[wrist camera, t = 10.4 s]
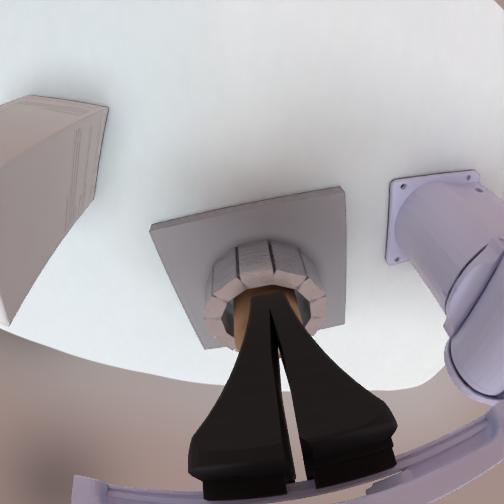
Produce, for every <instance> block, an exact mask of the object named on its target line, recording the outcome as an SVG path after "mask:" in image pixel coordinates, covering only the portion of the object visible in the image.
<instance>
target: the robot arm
mask: <svg viewBox="0 0 504 504" xmlns="http://www.w3.org/2000/svg"><path fill="white" fill-rule="evenodd" d="M467 176H468V177H467ZM402 184H404V186H403V187H401V185H402ZM395 258H396V259H395ZM409 260H410V262H411V263H412V265H413V266H414V267H415V269H416V270H417V272H418V273H419V275H420V276H421V277H422V279H423V280H424V282H425V283H426V285H427V286H428V288H429V289H430V291H431V292H432V294H433V295H434V297H435V298H436V300H437V301H438V303H439V305H440V306H441V308H442V309H443V311H444V313H445V314H446V316H447V317H446V321H445V323H444V325H443V327H444V329H445V331H446V332H447V334H448V336H449V340H448V341H447V343H446V346H445V350H444V360H445V365H446V368H447V371H448V373H449V375H450V377H451V379H452V381H453V382H454V384H455V385H456V386H457V387H458V389H459V390H460V391H461V392H463V393H464V394H465V395H466V396H468V397H469V398H471V399H473V400H475V401H478V402H482V403H486V404H488V405H491V406H492V407H491V408H490V409H489V410H488V411H487V412H486V414H484V415H483V416H481V417H479V418H478V419H476V420H474V421H472V422H470V423H468V424H466V425H465V426H463V427H461V428H459V429H457V430H455V431H453V432H451V433H449V434H447V435H445V436H443V437H440V438H438V439H436V440H434V441H432V442H429V443H427V444H425V445H423V446H420V447H418V448H415V449H413V450H411V451H408V452H405V453H402V454H400V455H397V456H394V452H393V449H392V447H393V442H392V439H391V437H392V435H393V434H394V432H395V431H396V429H397V426H398V425H397V422H396V420H395V418H394V416H393V414H392V412H391V411H390V409H389V408H388V406H387V405H386V404H385V402H384V401H382V400H381V399H379V398H378V397H376V396H375V395H373V394H372V393H371V392H369V391H368V390H366V389H365V388H364V387H362V386H361V385H360V384H359V383H357V382H356V381H355V380H354V379H352V378H351V377H350V376H349V375H348V374H347V373H346V372H344V371H343V370H342V369H341V368H340V367H339V366H338V365H337V364H336V363H335V362H334V361H333V360H332V359H331V358H330V357H329V356H328V355H327V354H326V353H325V352H324V351H323V350H322V349H321V347H320V346H319V345H318V344H317V343H316V342H315V340H314V339H313V338H312V337H311V335H310V334H309V333H308V331H307V330H306V329H305V327H304V326H303V324H302V323H301V321H300V320H299V319H298V317H297V315H296V314H295V312H294V311H293V309H292V307H291V305H290V303H289V301H288V299H287V297H286V294H285V292H283V291H279V292H274V293H269V294H264V295H259V296H254V297H252V298H251V299H250V312H249V318H248V323H247V327H246V331H245V335H244V339H243V342H242V345H241V348H240V351H239V354H238V357H237V360H236V363H235V365H234V368H233V370H232V372H231V375H230V377H229V379H228V381H227V383H226V385H225V387H224V389H223V391H222V393H221V395H220V397H219V398H218V400H217V402H216V404H215V405H214V407H213V408H212V410H211V411H210V413H209V415H208V416H207V418H206V419H205V421H204V422H203V423H202V425H201V426H200V427H199V429H198V430H197V431H196V433H195V434H194V435H193V437H192V440H191V443H190V448H189V454H188V473H189V474H191V475H192V476H193V477H195V478H197V479H199V480H201V481H203V491H169V490H152V489H142V488H131V487H124V486H117V485H109V484H107V483H105V482H103V481H100V480H97V479H93V478H88V477H83V476H78V475H75V476H74V483H73V491H72V501H71V504H266V503H274V502H282V501H288V500H295V499H301V498H306V497H311V496H317V495H321V494H326V493H330V492H335V491H339V490H343V489H347V488H350V487H354V486H358V485H361V484H364V483H368V482H371V481H374V480H377V479H380V478H383V477H386V476H389V475H392V474H395V473H397V472H400V471H402V472H400V473H398V474H396V475H393V476H391V477H389V478H386V479H384V480H381V481H379V482H376V483H374V484H373V485H372V487H371V488H369V489H367V490H366V496H362V497H359V498H355V499H351V500H347V501H343V502H338V503H334V504H430V503H432V502H434V501H436V500H438V499H440V498H442V497H444V496H446V495H448V494H450V493H452V492H453V491H455V490H457V489H458V488H461V487H462V486H464V485H466V484H467V483H469V482H471V481H472V480H474V479H476V478H477V477H479V476H480V475H482V474H484V473H485V472H487V471H488V470H490V469H491V468H492V467H494V466H495V465H497V464H498V463H500V462H501V461H503V460H504V202H503V201H502V200H501V199H500V198H498V197H497V196H496V195H494V194H493V193H492V192H491V191H489V190H488V189H487V188H485V187H484V186H482V185H481V184H480V183H479V173H478V172H477V171H476V170H471V171H462V172H453V173H444V174H436V175H428V176H420V177H412V178H405V179H397V180H394V181H393V182H392V183H391V186H390V209H389V226H388V239H387V251H386V262H387V264H389V265H393V264H397V263H401V262H405V261H409ZM278 348H279V352H280V355H281V359H282V362H283V366H284V369H285V372H286V376H287V379H288V383H289V386H290V390H291V395H292V400H293V406H294V411H295V417H296V422H297V427H298V433H299V439H300V444H301V449H302V454H303V460H304V465H305V471H306V476H307V481H302V482H296V483H295V479H296V474H295V469H294V463H293V458H292V452H291V446H290V441H289V435H288V429H287V424H286V418H285V412H284V406H283V400H282V392H281V379H280V365H279V353H278Z"/></svg>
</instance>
